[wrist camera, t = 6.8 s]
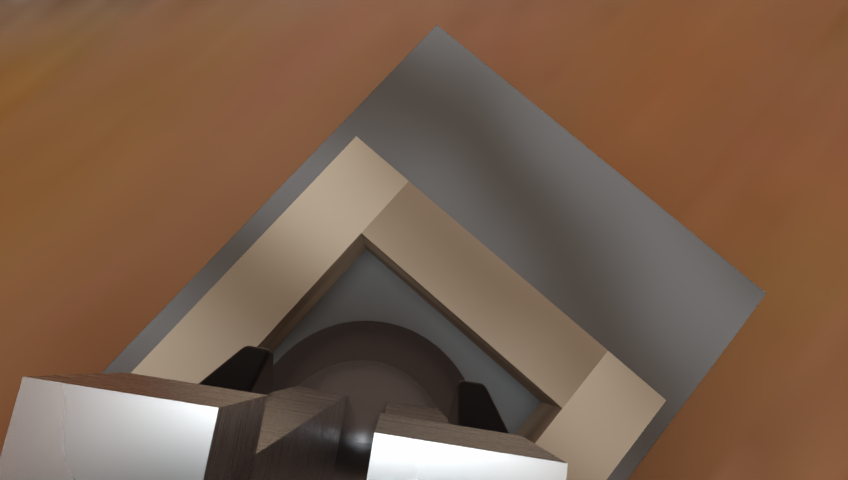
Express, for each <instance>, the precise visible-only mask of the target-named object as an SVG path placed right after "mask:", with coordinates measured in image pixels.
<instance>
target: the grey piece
mask: <svg viewBox="0 0 848 480" xmlns="http://www.w3.org/2000/svg"><path fill="white" fill-rule="evenodd" d="M461 380H464V381H465V379H464V377H463V376H462V374H461V373H460V371H459V369H458V368H457V367H456V365H455V364H454V363H453V362H452V361H451V359H450V358H449V357H448V356H447V355H446V354H445V353H444V352H443V351H442V350H441V349H440V348H439V347H437V346H436V345H435V344H433V343H432V342H431V341H429V340H428V339H426V338H425V337H423V336H421V335H419V334H418V333H416V332H414V331H412V330H409V329H407V328H404V327H401V326H399V325H395V324H390V323H386V322H379V321H352V322H346V323H340V324H336V325H333V326H330V327H327V328H324V329H322V330H320V331H317V332H315V333H313V334H311V335H309V336H308V337H306V338H304V339H303V340H301V341H300V342H298V343H297V344H295V345H294V346H293V347H292V348H291V349H289V350H288V351H287V352H286V353H285V354H284V355H283V356H282V357H281V358H280V359H279V360H278V361H277V362H276V363H275V364H274V366H273V392H272V393H269V394H265V395H264V394H257V393H251V392H245V391H239V390H232V389H226V388H220V387H214V386H207V385H201V384H195V383H189V382H182V381H176V380H170V379H164V378H157V377H151V376H145V375H138V374H132V373H126V372H125V373H100V374H75V375H51V376H26V377H23V378H22V382H21V385H20V389H19V393H18V396H17V400H16V403H15V407H14V410H13V414H12V417H11V421H10V425H9V428H8V432H7V435H6V439H5V442H4V446H3V449H2V453H1V457H0V480H566V475H567V465H568V463H566V462H564V461H563V460H561V459H559V458H558V457H556V456H554V455H553V454H551V453H549V452H548V451H546V450H544V449H543V448H541V447H539V446H538V445H536V444H534V443H533V442H531V441H529V440H528V439H526V438H524V437H523V436H520V435H514V434H508V433H502V432H495V431H489V430H483V429H477V428H470V427H464V426H458V425H452V424H450V423H449V421H448V417H449V413H450V408H451V404H452V400H453V396H454V392H455V388H456V385H457V383H458V382H459V381H461Z"/></svg>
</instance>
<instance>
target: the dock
mask: <svg viewBox="0 0 848 480" xmlns="http://www.w3.org/2000/svg"><path fill="white" fill-rule="evenodd" d="M765 295H766V293H765V292H764V291H763V290H762V289H760V288H759V287H758V286H757V285H755V284H754V283H753V282H752V281H751V280H749V279H748V278H747V277H746V276H744V275H743V274H742V273H741V272H740V271H738V270H737V269H736V268H735V267H733V266H732V265H731V264H730V263H728V262H727V261H726V260H725V259H724V258H722V257H721V256H720V255H719V254H717V253H716V252H715V251H714V250H713V249H711V248H710V247H709V246H708V245H706V244H705V243H704V242H703V241H701V240H700V239H699V238H698V237H697V236H695V235H694V234H693V233H692V232H690V231H689V230H688V229H687V228H686V227H684V226H683V225H682V224H681V223H679V222H678V221H677V220H676V219H675V218H673V217H672V216H671V215H670V214H668V213H667V212H666V211H665V210H663V209H662V208H661V207H660V206H659V205H657V204H656V203H655V202H654V201H652V200H651V199H650V198H649V197H648V196H646V195H645V194H644V193H643V192H641V191H640V190H639V189H638V188H636V187H635V186H634V185H633V184H632V183H630V182H629V181H628V180H627V179H625V178H624V177H623V176H622V175H621V174H619V173H618V172H617V171H616V170H614V169H613V168H612V167H611V166H609V165H608V164H607V163H606V162H605V161H603V160H602V159H601V158H600V157H598V156H597V155H596V154H595V153H594V152H592V151H591V150H590V149H589V148H587V147H586V146H585V145H584V144H582V143H581V142H580V141H579V140H578V139H576V138H575V137H574V136H573V135H571V134H570V133H569V132H568V131H567V130H565V129H564V128H563V127H562V126H560V125H559V124H558V123H557V122H555V121H554V120H553V119H552V118H551V117H549V116H548V115H547V114H546V113H544V112H543V111H542V110H541V109H540V108H538V107H537V106H536V105H535V104H533V103H532V102H531V101H530V100H528V99H527V98H526V97H525V96H524V95H522V94H521V93H520V92H519V91H517V90H516V89H515V88H514V87H513V86H511V85H510V84H509V83H508V82H506V81H505V80H504V79H503V78H502V77H500V76H499V75H498V74H497V73H495V72H494V71H493V70H492V69H490V68H489V67H488V66H487V65H486V64H484V63H483V62H482V61H481V60H479V59H478V58H477V57H476V56H475V55H473V54H472V53H471V52H470V51H468V50H467V49H466V48H465V47H463V46H462V45H461V44H460V43H459V42H457V41H456V40H455V39H454V38H452V37H451V36H450V35H449V34H448V33H446V32H445V31H444V30H443V29H441V28H440V27H439V26H438V25H436V26H435V27H434V28H433V30H432V31H431V32H430V33H429V34H428V35H427V36H426V37H425V38H424V39H423V40H422V41H421V42H420V43H419V44H418V45H417V46H416V47H415V48H414V49H413V50H412V51H411V52H410V53H409V54H408V55H407V57H406V58H405V59H404V60H403V61H402V62H401V63H400V64H399V65H398V66H397V67H396V68H395V69H394V70H393V71H392V72H391V73H390V74H389V75H388V76H387V77H386V78H385V79H384V80H383V81H382V82H381V84H380V85H379V86H378V87H377V88H376V89H375V90H374V91H373V92H372V93H371V94H370V95H369V96H368V97H367V98H366V99H365V100H364V101H363V102H362V103H361V104H360V105H359V106H358V107H357V108H356V109H355V111H354V112H353V113H352V114H351V115H350V116H349V117H348V118H347V119H346V120H345V121H344V122H343V123H342V124H341V125H340V126H339V127H338V128H337V129H336V130H335V131H334V132H333V133H332V134H331V135H330V136H329V137H328V139H327V140H326V141H325V142H324V143H323V144H322V145H321V146H320V147H319V148H318V149H317V150H316V151H315V152H314V153H313V154H312V155H311V156H310V157H309V158H308V159H307V160H306V161H305V162H304V163H303V164H302V166H301V167H300V168H299V169H298V170H297V171H296V172H295V173H294V174H293V175H292V176H291V177H290V178H289V179H288V180H287V181H286V182H285V183H284V184H283V185H282V186H281V187H280V188H279V189H278V190H277V191H276V193H275V194H274V195H273V196H272V197H271V198H270V199H269V200H268V201H267V202H266V203H265V204H264V205H263V206H262V207H261V208H260V209H259V210H258V211H257V212H256V213H255V214H254V215H253V216H252V217H251V218H250V220H249V221H248V222H247V223H246V224H245V225H244V226H243V227H242V228H241V229H240V230H239V231H238V232H237V233H236V234H235V235H234V236H233V237H232V238H231V239H230V240H229V241H228V242H227V243H226V244H225V245H224V247H223V248H222V249H221V250H220V251H219V252H218V253H217V254H216V255H215V256H214V257H213V258H212V259H211V260H210V261H209V262H208V263H207V264H206V265H205V266H204V267H203V268H202V269H201V270H200V271H199V272H198V274H197V275H196V276H195V277H194V278H193V279H192V280H191V281H190V282H189V283H188V284H187V285H186V286H185V287H184V288H183V289H182V290H181V291H180V292H179V293H178V294H177V295H176V296H175V297H174V298H173V299H172V301H171V302H170V303H169V304H168V305H167V306H166V307H165V308H164V309H163V310H162V311H161V312H160V313H159V314H158V315H157V316H156V317H155V318H154V319H153V320H152V321H151V322H150V323H149V324H148V325H147V326H146V328H145V329H144V330H143V331H142V332H141V333H140V334H139V335H138V336H137V337H136V338H135V339H134V340H133V341H132V342H131V343H130V344H129V345H128V346H127V347H126V348H125V349H124V350H123V351H122V352H121V353H120V355H119V356H118V357H117V358H116V359H115V360H114V361H113V362H112V363H111V364H110V365H109V366H108V367H107V368H106V369H105V370H104V371H103V372H102V373H125V372H126V373H132V374H138V375H145V376H151V377H157V378H164V379H170V380H176V381H182V382H189V383H195V384H199V383H200V382H201V381H202V380H204V379H205V378H206V377H207V376H209V375H210V374H211V373H212V372H213V371H215V370H216V369H217V368H218V367H220V366H221V365H222V364H223V363H224V362H226V361H227V360H228V359H229V358H231V357H232V356H233V355H234V354H235V353H237V352H238V351H239V350H240V349H242V348H243V347H245V346H255V347H261V348H267V349H270V350H271V351H272V353H273V366H274V364H275V363H276V362H277V361H278V360H279V359H280V358H281V357H282V356H283V355H284V354H285V353H286V352H287V351H288V350H289V349H291V348H292V347H293V346H294V345H295V344H297V343H298V342H300V341H301V340H303V339H304V338H306V337H308V336H309V335H311V334H313V333H315V332H317V331H320V330H322V329H324V328H327V327H330V326H333V325H336V324H340V323H346V322H352V321H379V322H386V323H390V324H395V325H399V326H401V327H404V328H407V329H409V330H412V331H414V332H416V333H418V334H419V335H421V336H423V337H425V338H426V339H428V340H429V341H431V342H432V343H433V344H435V345H436V346H437V347H439V348H440V349H441V350H442V351H443V352H444V353H445V354H446V355H447V356H448V357H449V358H450V359H451V361H452V362H453V363H454V364H455V365H456V367H457V368H458V369H459V371H460V373H461V374H462V376H463V377H464V379H465V381H470V382H476V383H482V384H483V385H485V386H486V388H487V390H488V392H489V394H490V396H491V398H492V400H493V402H494V404H495V406H496V408H497V410H498V412H499V414H500V416H501V418H502V420H503V422H504V424H505V426H506V428H507V430H508V432H509V434H514V435H520V436H523V437H524V438H526V439H528V440H529V441H531V442H533V443H534V444H536V445H538V446H539V447H541V448H543V449H544V450H546V451H548V452H549V453H551V454H553V455H554V456H556V457H558V458H559V459H561V460H563V461H564V462H566V463H568V465H567V475H566V480H627V479H628V478H629V477H630V475H631V474H632V473H633V471H634V470H635V469H636V467H637V466H638V465H639V463H640V462H641V461H642V459H643V458H644V457H645V455H646V454H647V453H648V451H649V450H650V449H651V447H652V446H653V445H654V443H655V442H656V441H657V439H658V438H659V437H660V435H661V434H662V433H663V431H664V430H665V429H666V427H667V426H668V425H669V423H670V422H671V421H672V419H673V418H674V417H675V415H676V414H677V412H678V411H679V410H680V408H681V407H682V406H683V404H684V403H685V402H686V400H687V399H688V398H689V396H690V395H691V394H692V392H693V391H694V390H695V388H696V387H697V386H698V384H699V383H700V382H701V380H702V379H703V378H704V376H705V375H706V374H707V372H708V371H709V370H710V368H711V367H712V366H713V364H714V363H715V362H716V360H717V359H718V358H719V356H720V355H721V354H722V352H723V351H724V350H725V348H726V347H727V346H728V344H729V343H730V342H731V340H732V339H733V337H734V336H735V335H736V333H737V332H738V331H739V329H740V328H741V327H742V325H743V324H744V323H745V321H746V320H747V319H748V317H749V316H750V315H751V313H752V312H753V311H754V309H755V308H756V307H757V305H758V304H759V303H760V301H761V300H762V299H763V297H764V296H765Z"/></svg>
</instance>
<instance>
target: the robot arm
mask: <svg viewBox="0 0 848 480" xmlns="http://www.w3.org/2000/svg"><path fill="white" fill-rule="evenodd" d="M199 384H201V385H207V386H214V387H220V388H226V389H232V390H239V391H245V392H251V393H257V394H264V395H265V394H269V393H272V392H273V353H272V351H271V350H270V349H267V348H261V347H255V346H245V347H243V348H242V349H240V350H239V351H238V352H237V353H235V354H234V355H233V356H232V357H231V358H229V359H228V360H227V361H226V362H224V363H223V364H222V365H221V366H220V367H218V368H217V369H216V370H215V371H213V372H212V373H211V374H210V375H209V376H207V377H206V378H205V379H204V380H202V381H201V382H200V383H199ZM448 421H449V423H450V424H452V425H458V426H464V427H470V428H477V429H483V430H489V431H495V432H502V433H508V434H509V432H508V430H507V428H506V426H505V424H504V422H503V420H502V418H501V416H500V414H499V412H498V410H497V408H496V406H495V404H494V402H493V400H492V398H491V396H490V394H489V392H488V390H487V388H486V386H485V385H483V384H482V383H476V382H470V381H464V380H461V381H459V382H458V383H457V385H456V388H455V392H454V396H453V400H452V404H451V408H450V413H449V417H448Z"/></svg>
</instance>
